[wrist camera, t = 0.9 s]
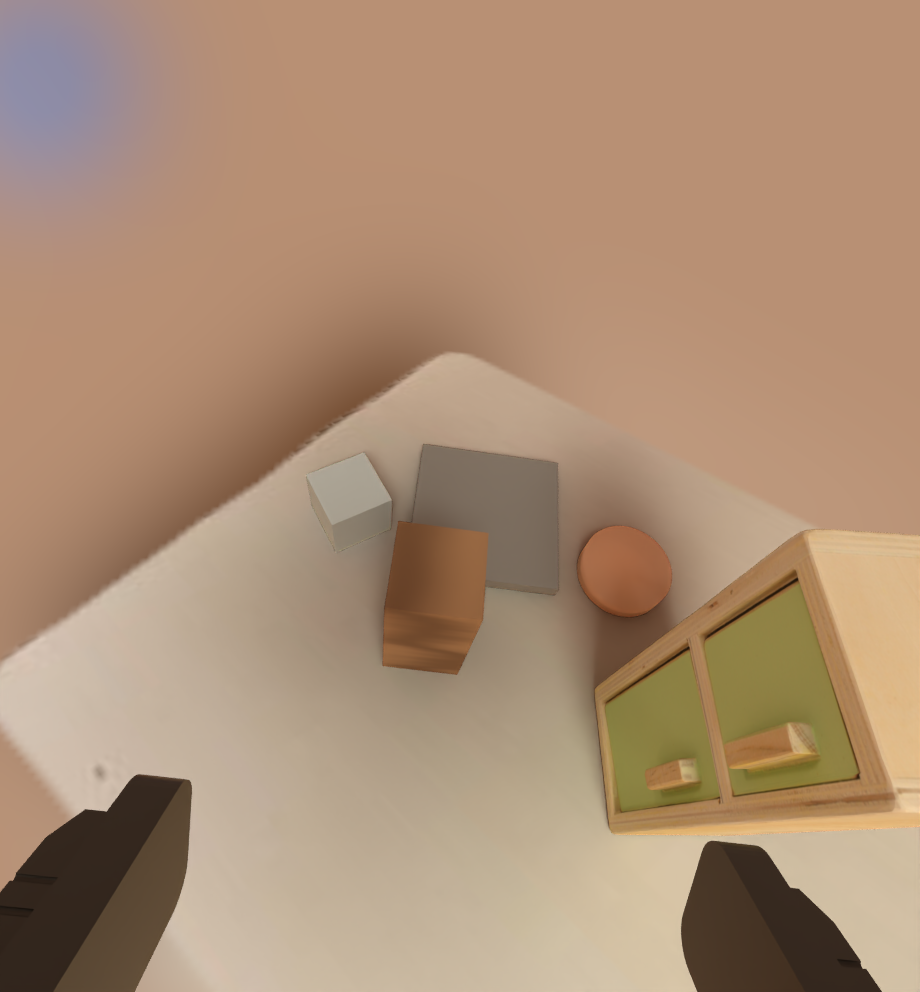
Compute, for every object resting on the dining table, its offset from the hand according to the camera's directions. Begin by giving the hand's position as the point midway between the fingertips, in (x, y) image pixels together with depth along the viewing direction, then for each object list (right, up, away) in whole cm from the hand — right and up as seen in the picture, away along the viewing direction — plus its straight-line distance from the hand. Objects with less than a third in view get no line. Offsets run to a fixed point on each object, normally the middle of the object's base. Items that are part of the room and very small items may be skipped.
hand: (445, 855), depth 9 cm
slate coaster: (+2, +4, +32) cm, 32 cm away
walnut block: (-2, -3, +27) cm, 27 cm away
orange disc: (+11, 0, +31) cm, 33 cm away
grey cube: (-7, +4, +31) cm, 32 cm away
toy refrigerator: (+11, -10, +25) cm, 29 cm away
